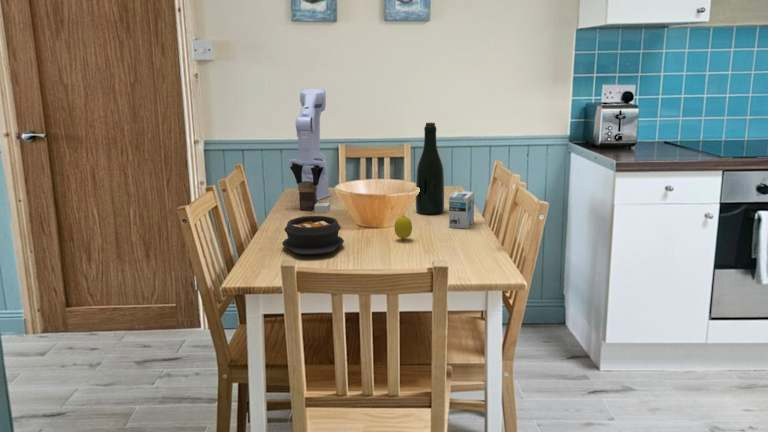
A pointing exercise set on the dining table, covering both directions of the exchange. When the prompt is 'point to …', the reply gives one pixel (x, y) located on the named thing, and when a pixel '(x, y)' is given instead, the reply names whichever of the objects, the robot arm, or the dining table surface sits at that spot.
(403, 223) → the lemon
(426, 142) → the wine bottle
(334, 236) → the casserole
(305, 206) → the box
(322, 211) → the grey block
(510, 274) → the dining table surface
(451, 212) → the light bulb box
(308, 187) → the walnut block
